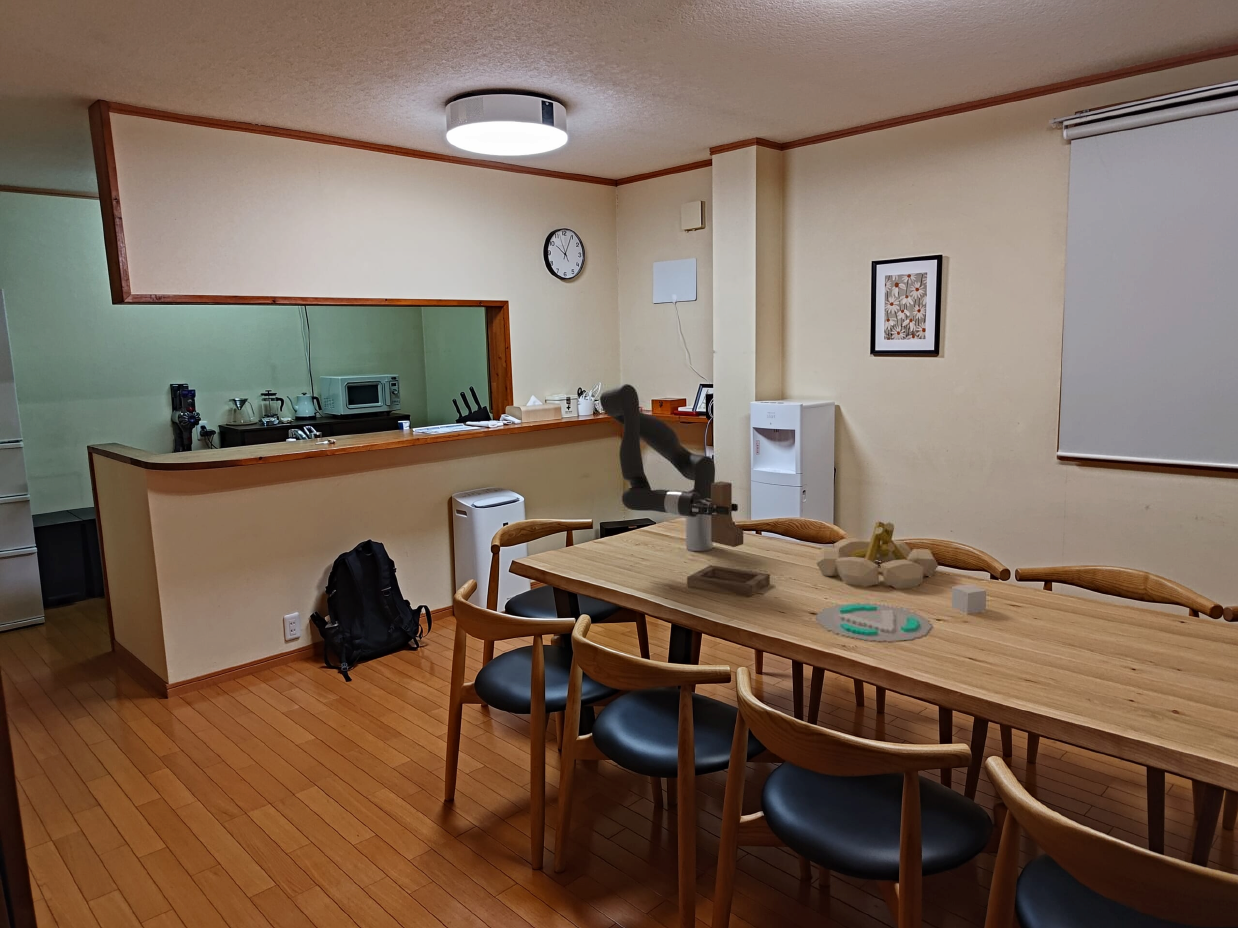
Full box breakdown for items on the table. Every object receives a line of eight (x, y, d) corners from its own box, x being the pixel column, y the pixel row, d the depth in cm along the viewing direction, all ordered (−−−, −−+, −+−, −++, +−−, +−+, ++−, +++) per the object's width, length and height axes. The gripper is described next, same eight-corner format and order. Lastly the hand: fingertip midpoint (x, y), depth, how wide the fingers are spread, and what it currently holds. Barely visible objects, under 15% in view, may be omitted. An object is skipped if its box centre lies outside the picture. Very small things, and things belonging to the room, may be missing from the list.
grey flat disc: (847, 648, 195) (847, 642, 195) (799, 610, 223) (800, 605, 222) (953, 637, 201) (953, 631, 200) (894, 602, 228) (894, 596, 228)
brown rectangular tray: (710, 574, 257) (710, 565, 256) (769, 583, 246) (769, 573, 245) (687, 586, 244) (687, 577, 244) (748, 597, 233) (748, 587, 233)
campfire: (912, 598, 230) (914, 539, 228) (800, 579, 251) (801, 524, 248) (948, 569, 258) (950, 516, 255) (844, 553, 278) (846, 504, 276)
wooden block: (743, 544, 241) (744, 484, 238) (734, 547, 238) (734, 486, 235) (720, 539, 248) (720, 480, 245) (710, 542, 245) (710, 483, 242)
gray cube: (969, 605, 223) (970, 584, 222) (985, 612, 217) (986, 590, 216) (951, 607, 221) (952, 586, 220) (967, 614, 215) (968, 592, 215)
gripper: (670, 495, 243) (722, 501, 234) (694, 487, 255) (743, 493, 246) (670, 519, 244) (722, 526, 235) (693, 511, 256) (743, 517, 247)
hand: (733, 509), depth 240 cm, fingers closed on wooden block, 5 cm apart
